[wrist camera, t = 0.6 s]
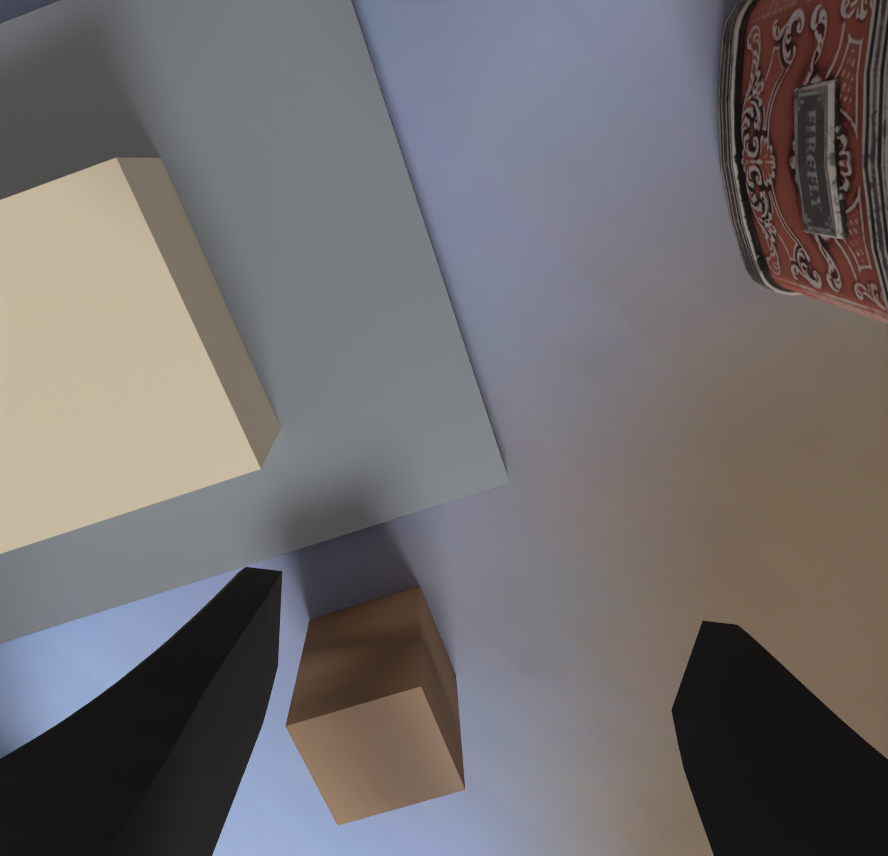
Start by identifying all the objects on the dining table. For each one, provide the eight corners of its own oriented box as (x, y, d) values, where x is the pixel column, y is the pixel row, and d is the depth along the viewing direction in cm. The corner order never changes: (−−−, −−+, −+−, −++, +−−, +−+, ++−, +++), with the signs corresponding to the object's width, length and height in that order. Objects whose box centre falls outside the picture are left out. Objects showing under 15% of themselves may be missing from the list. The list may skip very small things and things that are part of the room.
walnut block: (351, 705, 26) (337, 825, 21) (310, 619, 25) (285, 726, 20) (455, 675, 26) (465, 789, 21) (419, 585, 24) (421, 686, 20)
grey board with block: (-52, 651, 24) (-127, 730, 21) (-387, 181, 19) (-560, 186, 16) (507, 475, 23) (523, 528, 20) (321, -92, 17) (299, -152, 14)
